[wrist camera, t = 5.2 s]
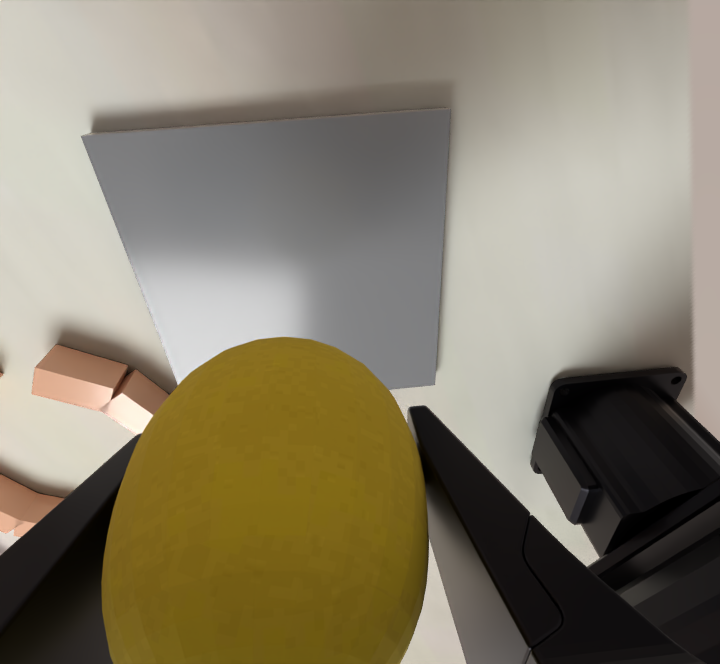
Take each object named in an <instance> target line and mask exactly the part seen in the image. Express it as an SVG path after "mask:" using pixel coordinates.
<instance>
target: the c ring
mask: <svg viewBox="0 0 720 664" xmlns="http://www.w3.org/2000/svg"><path fill="white" fill-rule="evenodd" d="M127 368H128V365H125V364H122V363H119V362H115V361H112V360H108V359H105V358H101V357H98V356H95V355H91V354H88V353H84V352H81V351H77V350H74V349H71V348H67V347H64V346H60V345H57V344H56V345H55V346H54V347H53V348H52V349H51V350H50V352H49V353H48V354H47V355H46V356H45V357H44V358H43V359H42V360H41V361H40V362H39V364H38V365H37V366H36V367H35V370H34V378H33V386H32V394H33V395H37V396H41V397H45V398H49V399H53V400H57V401H61V402H65V403H69V404H73V405H76V406H80V407H84V408H88V409H92V410H96V411H100V412H103V413H104V414H106V415H107V416H109V417H110V418H112V419H113V420H115V421H116V422H118V423H119V424H121V425H122V426H124V427H125V428H126V429H128V430H129V431H131V432H132V433H134V434H135V435H138V434H140V433H143V431H144V429H145V427H146V426H147V424H148V423H149V421H150V420H151V418H152V417H153V415H154V414H155V412H156V411H157V410H158V409H159V407H160V406H161V405H162V404H163V402H164V401H165V400H166V399H167V398H168V397H169V394H167V393H166V392H165V391H164V390H162V389H161V388H160V387H158V386H157V385H156V384H155V383H153V382H152V381H151V380H149V379H148V378H147V377H145V376H144V375H143V374H142V373H140V372H139V371H138V370H134V371H133V372H131V373H130V374H128V375H127V376H125V375H126V372H127ZM2 375H3V374H2V373H0V377H1V376H2ZM64 499H65V498H59V497H54V496H49V495H44V494H38V493H36V492H34V491H32V490H30V489H28V488H26V487H24V486H23V485H21V484H19V483H17V482H15V481H13V480H11V479H9V478H7V477H5V476H3V475H1V474H0V531H1V532H4V533H8V532H9V531H11V530H13V529H14V528H15V529H14V536H18V537H22V536H23V535H24V534H25V533H26V532H27V531H29V530H30V529H31V528H32V527H33V526H34V525H35V524H36V523H38V522H39V521H40V520H41V519H42V518H43V517H44V516H45V515H47V514H48V513H49V512H50V511H51V510H52V509H53V508H55V507H56V506H57V505H58V504H59V503H60V502H61V501H62V500H64Z"/></svg>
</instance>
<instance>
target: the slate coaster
mask: <svg viewBox="0 0 720 664" xmlns="http://www.w3.org/2000/svg"><path fill="white" fill-rule="evenodd" d="M450 117H451V109H449V108H446V107H444V108H430V109H416V110H402V111H388V112H375V113H361V114H347V115H333V116H319V117H305V118H291V119H278V120H264V121H250V122H236V123H222V124H208V125H194V126H181V127H167V128H153V129H139V130H125V131H111V132H97V133H89V134H86V135H82V136H81V138H82V140H83V143H84V145H85V148H86V150H87V153H88V156H89V158H90V161H91V163H92V166H93V168H94V171H95V174H96V176H97V179H98V181H99V184H100V186H101V189H102V191H103V194H104V197H105V199H106V202H107V204H108V207H109V209H110V212H111V215H112V217H113V220H114V222H115V225H116V227H117V230H118V233H119V235H120V238H121V240H122V243H123V245H124V248H125V250H126V253H127V256H128V258H129V261H130V263H131V266H132V268H133V271H134V274H135V276H136V279H137V281H138V284H139V286H140V289H141V292H142V294H143V297H144V299H145V302H146V304H147V307H148V309H149V312H150V315H151V317H152V320H153V322H154V325H155V327H156V330H157V333H158V335H159V338H160V340H161V343H162V345H163V348H164V351H165V353H166V356H167V358H168V361H169V363H170V366H171V368H172V371H173V374H174V376H175V379H176V381H177V384H178V385H179V384H180V383H181V381H182V380H183V379H184V378H185V377H187V376H188V375H189V374H190V373H191V372H192V371H193V370H195V369H196V368H198V367H199V366H201V365H202V364H204V363H205V362H207V361H208V360H210V359H212V358H213V357H215V356H216V355H218V354H219V353H221V352H222V351H224V350H227V349H230V348H232V347H235V346H238V345H242V344H245V343H248V342H251V341H254V340H257V339H265V338H275V337H294V338H304V339H312V340H315V341H318V342H321V343H324V344H327V345H330V346H333V347H336V348H338V349H339V350H341V351H343V352H344V353H346V354H348V355H349V356H351V357H353V358H354V359H356V360H358V361H359V362H361V363H363V364H364V365H365V366H366V367H367V368H368V369H369V370H370V371H371V372H372V373H373V374H374V375H375V376H376V377H377V378H378V379H379V380H380V381H381V382H382V383H383V384H384V385H385V386H386V387H387V388H388V390H390V389H400V388H410V387H420V386H430V385H435V376H436V359H437V341H438V324H439V307H440V290H441V272H442V255H443V238H444V221H445V203H446V186H447V169H448V152H449V134H450Z"/></svg>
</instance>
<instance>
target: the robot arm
mask: <svg viewBox="0 0 720 664" xmlns="http://www.w3.org/2000/svg"><path fill="white" fill-rule="evenodd" d="M686 378H687V375H686V374H685V373H684V372H683V371H682V370H681V369H679V368H678V367H671V368H661V369H651V370H641V371H631V372H621V373H612V374H602V375H592V376H582V377H572V378H562V379H558V380H556V381H555V382H553V383H552V384H551V386H550V389H549V393H548V397H547V401H546V405H545V408H544V412H543V416H542V419H541V421H540V423H539V427H538V430H537V434H536V438H535V442H534V446H533V450H532V459H531V462H530V465H531V467H532V469H533V471H534V472H535V473H537V474H543V475H544V477H545V479H546V481H547V483H548V485H549V486H550V488H551V490H552V492H553V494H554V496H555V497H556V499H557V501H558V503H559V505H560V507H561V508H562V510H563V512H564V514H565V516H566V518H567V519H568V521H570V522H571V523H572V524H574V525H578V524H581V526H582V527H583V529H584V531H585V533H586V534H587V536H588V538H589V540H590V542H591V543H592V545H593V547H594V549H595V550H596V552H597V554H598V556H599V557H600V558H599V559H598V560H596V561H595V562H593V563H592V564H591V565H589V566H588V567H586V566H585V565H584V564H583V563H582V562H581V561H579V560H578V559H577V558H576V557H575V556H574V555H573V554H572V553H571V552H569V551H568V550H567V549H566V548H565V547H564V546H563V545H562V544H561V543H560V542H559V541H558V540H557V539H556V538H555V537H554V536H553V535H552V534H551V533H550V532H549V531H548V530H547V529H546V528H545V527H544V526H543V525H542V524H541V523H540V522H539V521H538V520H537V519H536V518H535V517H534V516H533V515H530V512H529V511H528V510H527V509H526V508H525V507H524V506H523V505H522V504H521V503H520V502H519V501H518V499H517V498H516V497H515V496H514V495H513V494H512V493H511V492H510V491H509V490H508V489H507V488H506V487H505V486H504V485H503V484H502V483H501V482H500V481H499V480H498V479H497V478H496V477H495V476H494V475H493V474H492V473H491V472H490V471H489V470H488V469H487V468H486V467H485V466H484V465H483V464H482V463H481V462H480V461H479V459H478V458H477V457H476V456H475V455H474V454H473V453H472V452H471V451H470V450H469V449H468V448H467V447H466V446H465V445H464V444H463V443H462V442H461V441H460V440H459V439H458V438H457V437H456V436H455V435H454V434H453V433H452V432H451V431H450V430H449V429H448V428H447V427H446V426H445V425H444V424H443V423H442V422H441V420H440V419H439V418H438V417H437V416H436V415H435V414H434V413H433V412H432V411H431V410H430V409H429V408H428V407H427V406H413V407H409V408H408V423H407V424H408V427H409V429H410V431H411V433H412V435H413V438H414V440H415V443H416V446H417V449H418V452H419V456H420V459H421V464H422V469H423V474H424V480H425V489H426V499H427V512H428V530H429V539H430V542H431V546H432V549H433V552H434V556H435V559H436V562H437V566H438V569H439V573H440V576H441V579H442V583H443V586H444V589H445V593H446V596H447V599H448V603H449V606H450V609H451V613H452V616H453V620H454V623H455V626H456V630H457V633H458V636H459V640H460V643H461V646H462V650H463V653H464V656H465V660H466V663H467V664H720V442H719V441H718V440H717V439H716V438H715V437H714V436H713V435H712V434H711V433H710V432H709V431H708V430H707V429H706V428H705V427H703V426H702V425H701V424H700V423H699V422H698V421H697V420H696V419H695V418H694V417H693V416H692V415H691V414H690V413H689V412H688V411H687V410H686V409H684V408H683V407H682V406H681V405H680V404H679V403H678V402H677V401H676V399H677V397H678V395H679V393H680V391H681V389H682V387H683V385H684V383H685V381H686ZM561 389H562V390H561ZM141 435H142V433H140V434H138V435H136V436H135V437H134V438H132V439H131V440H130V441H129V442H128V443H127V444H126V445H125V446H123V447H122V448H121V449H120V450H119V451H118V452H117V453H116V454H114V455H113V456H112V457H111V458H110V459H109V460H108V461H106V462H105V463H104V464H103V465H102V466H101V467H100V468H99V469H97V470H96V471H95V472H94V473H93V474H92V475H91V476H90V477H88V478H87V479H86V480H85V481H84V482H83V483H82V484H81V485H79V486H78V487H77V488H76V489H75V490H74V491H73V492H71V493H70V494H69V495H68V496H67V497H66V498H65V499H64V500H62V501H61V502H60V503H59V504H58V505H57V506H56V507H55V508H53V509H52V510H51V511H50V512H49V513H48V514H47V515H45V516H44V517H43V518H42V519H41V520H40V521H39V522H38V523H36V524H35V525H34V526H33V527H32V528H31V529H30V530H29V531H27V532H26V533H25V534H24V535H23V536H22V537H21V538H20V539H18V540H17V541H16V542H15V543H14V544H13V545H12V546H10V547H9V548H8V549H7V550H6V551H5V552H4V553H3V554H1V555H0V664H113V661H112V659H111V656H110V652H109V646H108V641H107V636H106V631H105V625H104V619H103V613H102V585H101V581H102V571H103V560H104V552H105V546H106V540H107V534H108V529H109V525H110V520H111V516H112V512H113V508H114V505H115V501H116V498H117V495H118V492H119V489H120V486H121V483H122V480H123V478H124V475H125V472H126V469H127V467H128V464H129V461H130V459H131V456H132V454H133V451H134V449H135V446H136V444H137V442H138V440H139V438H140V437H141Z"/></svg>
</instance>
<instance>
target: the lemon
mask: <svg viewBox="0 0 720 664" xmlns="http://www.w3.org/2000/svg"><path fill="white" fill-rule="evenodd" d="M428 558H429V530H428V512H427V499H426V489H425V480H424V474H423V469H422V464H421V459H420V456H419V452H418V449H417V446H416V443H415V440H414V438H413V435H412V433H411V431H410V429H409V427H408V424H407V422H406V420H405V418H404V416H403V414H402V412H401V410H400V408H399V406H398V404H397V402H396V400H395V398H394V397H393V396H392V394H391V393H390V391H389V390H388V388H387V387H386V386H385V385H384V384H383V383H382V382H381V381H380V380H379V379H378V378H377V377H376V376H375V375H374V374H373V373H372V372H371V371H370V370H369V369H368V368H367V367H366V366H365V365H364V364H363V363H361V362H359V361H358V360H356V359H354V358H353V357H351V356H349V355H348V354H346V353H344V352H343V351H341V350H339V349H338V348H336V347H333V346H330V345H327V344H324V343H321V342H318V341H315V340H312V339H304V338H294V337H275V338H265V339H257V340H254V341H251V342H248V343H245V344H242V345H238V346H235V347H232V348H230V349H227V350H224V351H222V352H221V353H219V354H218V355H216V356H215V357H213V358H212V359H210V360H208V361H207V362H205V363H204V364H202V365H201V366H199V367H198V368H196V369H195V370H193V371H192V372H191V373H190V374H189V375H188V376H187V377H185V378H184V379H183V380H182V381H181V383H180V384H179V385H178V386H177V387H176V388H175V390H174V391H173V392H172V393H171V394H170V395H169V397H168V398H167V399H166V400H165V401H164V402H163V404H162V405H161V406H160V407H159V409H158V410H157V411H156V412H155V414H154V415H153V417H152V418H151V420H150V421H149V423H148V424H147V426H146V427H145V429H144V431H143V433H142V435H141V437H140V438H139V440H138V442H137V444H136V446H135V449H134V451H133V454H132V456H131V459H130V461H129V464H128V467H127V469H126V472H125V475H124V478H123V480H122V483H121V486H120V489H119V492H118V495H117V498H116V501H115V505H114V508H113V512H112V516H111V520H110V525H109V529H108V534H107V540H106V546H105V552H104V560H103V571H102V581H101V585H102V613H103V619H104V625H105V631H106V636H107V641H108V646H109V652H110V656H111V659H112V661H113V664H400V662H401V660H402V659H403V657H404V655H405V653H406V651H407V649H408V646H409V644H410V641H411V639H412V636H413V634H414V631H415V628H416V625H417V622H418V619H419V616H420V613H421V610H422V606H423V600H424V595H425V589H426V584H427V572H428Z"/></svg>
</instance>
